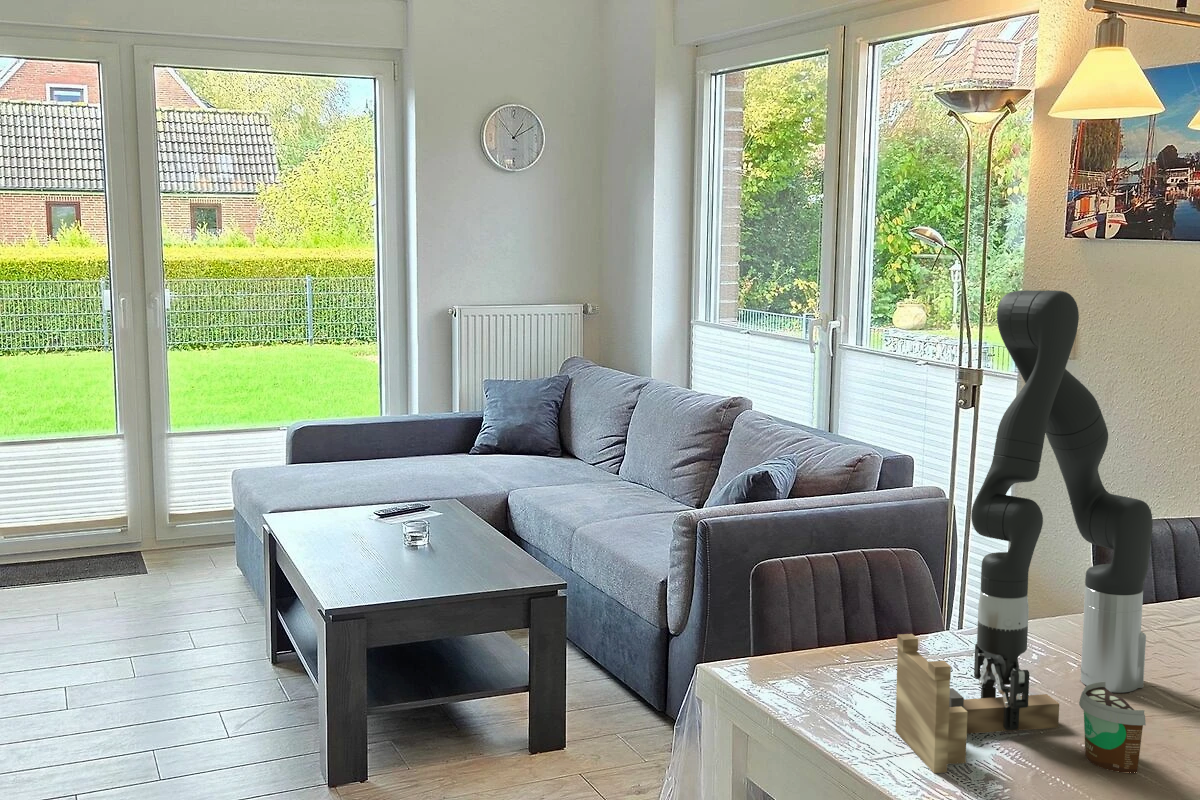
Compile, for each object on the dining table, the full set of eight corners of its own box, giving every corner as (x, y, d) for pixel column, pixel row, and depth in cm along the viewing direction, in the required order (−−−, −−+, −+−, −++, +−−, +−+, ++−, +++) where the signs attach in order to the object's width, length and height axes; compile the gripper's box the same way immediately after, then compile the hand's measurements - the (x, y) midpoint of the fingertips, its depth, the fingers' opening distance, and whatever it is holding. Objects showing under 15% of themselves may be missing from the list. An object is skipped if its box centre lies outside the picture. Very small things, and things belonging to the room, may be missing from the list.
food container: (1061, 743, 185) (1064, 681, 184) (1100, 742, 186) (1103, 679, 184) (1101, 779, 173) (1105, 713, 172) (1142, 777, 174) (1146, 711, 172)
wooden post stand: (931, 728, 191) (934, 631, 189) (973, 770, 176) (976, 665, 174) (894, 731, 190) (896, 633, 188) (932, 773, 176) (935, 668, 173)
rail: (1045, 717, 195) (1047, 682, 194) (1058, 727, 191) (1059, 691, 190) (939, 724, 193) (940, 688, 192) (950, 734, 189) (951, 698, 188)
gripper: (1048, 633, 183) (1043, 736, 185) (1004, 604, 197) (1000, 700, 199) (1001, 636, 182) (997, 739, 184) (960, 607, 196) (957, 703, 198)
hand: (999, 719), depth 192 cm, fingers open, 7 cm apart
